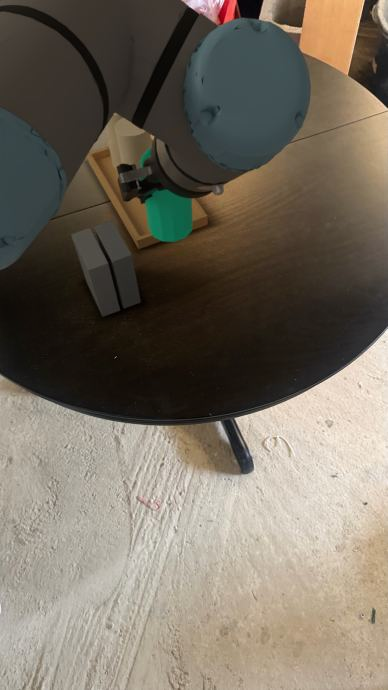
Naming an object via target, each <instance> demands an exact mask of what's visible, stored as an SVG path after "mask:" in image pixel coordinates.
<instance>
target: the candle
mask: <svg viewBox="0 0 388 690" xmlns="http://www.w3.org/2000/svg"><path fill="white" fill-rule="evenodd" d="M150 154H151V148H149V149H148V150H147V151H146V152H145V153H144V154H143V155H142V157H141V159H140V162H139V163H140V168H142V167H143V162H144V161H145V160H146V159H147V158H149V157H150ZM151 194H152V197H150V198H148V199H147V200H145V204H146V211H147V218H148V225H149V230H150V232H151V234H152V235H153V237H155V238H157V239H159V240H161V241H160V242H168V243H175V242H178V241H181V240H184V239H186V238H187V237H188V236H189V235H190V234H191V233H192V231H193V230H192V224H193V219H192V198H184V197H180V196H178V195H175V194H173V193H172V192H170V191H169V190H163V191H158V190H157V191H155V192H153V193H151Z"/></svg>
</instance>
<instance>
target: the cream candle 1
mask: <svg viewBox="0 0 388 690" xmlns="http://www.w3.org/2000/svg"><path fill="white" fill-rule="evenodd" d="M122 118H123V117H121V116H120V115H118V114H117V113H114V115H113V116H112V118H111V119H110V121H109V122H108V124H107V125H106V127H105V134H106V137H107V143H108V147H109V149H110V154H111V159H112V164H113V167H114V168H115V169H116V170H117V168H116V167H117V166H119V165H120V164H121V159H120V153H119V148H118V142H117V136H116V131H115V125H116V123H117V122H118V121H119V120H120V119H122Z"/></svg>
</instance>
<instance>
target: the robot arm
mask: <svg viewBox="0 0 388 690" xmlns="http://www.w3.org/2000/svg"><path fill="white" fill-rule="evenodd" d="M311 84H312V83H311V77H310V71H309V66H308V63H307V61H306V58H305V56H304V54H303V52H302V49H301V48H300V47H299V45H298V44H297V42H296V41H295V39H294V38H293V37H292V36H291V35H290V34H289V33H288V32H286V31H285V30H284V29H283V28H282V27H280V26H279V25H277V24H275V23H273V22H271V21H268V20H262V19H257V18H249V17H239V18H233V19H232V20H229V21H226V22H224V23H222V24H221V25H218V24H217V23H216V22H214V21H213V20H211V19H210V18H209V17H207V16H205V15H204V13H202V12H200V13H199V12H197V11H196V10H195V9H193V8H192V7H191V6H189V4H187V3H186V2H185V1H183V0H0V271H2V270H4V269H6V268H8V267H10V266H11V265H13V264H14V263H16V262H17V261H18V260H19V259H20V258H21V257H22V255H23V254H24V253H25V252H26V250H27V249H28V248H29V246H30V245H31V244H32V243H33V242H34V240H35V239H36V238H37V236H38V235H39V234H40V233H41V231H42V230H43V229H44V228H45V226H46V225H47V224H48V223H49V221H51V220H52V219H53V218H54V216H55V215H56V214H57V212H58V211H59V210H60V208H61V207H62V203H63V200H64V197H65V196H66V191H67V190H68V188H69V186H70V185H71V183H72V182H73V180H74V178H75V177H76V175H77V173H78V171H79V170H80V169H81V166H82V165H83V164H84V162H85V159H86V158H87V155H88V153H89V152H91V149H92V148H93V147H94V145H95V144H96V142H98V140H99V138H100V136H101V135H102V133H103V131H104V130H106V128H105V127H106V125H107V124H108V122H109V121H110V119H111V118H112V116H113V115H114V113H117V114H118V115H120V116H121V117H123V118H125V119H126V120H128V121H129V122H131V123H132V124H134V125H135V126H137V127H138V128H140V129H142V128H143V130H145V131H146V132H148V133H149V134H151V136H152V137H153V138H152V140H153V142H152V147H151V154H150V157H149V158H147V159H146V160H145V161H144V162H143V167H142V168H139V169H137V168H136V164H131V165H129V164H124V163H123V164H120V165H119V166H117V167H116V168H117V171H118V175H119V177H118V180H117V181H118V184H119V188H120V192H121V195H122V199H123V201H125V202H129V201H130V200H132V199H133V198H136V197H137V198H138V199H139V198H140V202H141V204H144V203H145V200H147V199H148V198H150V197H152V194H151V193H153V192H155V191H157V190H158V191H163V190H169V191H170V192H172V193H173V194H175V195H178V196H180V197H184V198H195V199H199V198H204V197H206V196H208V195H210V194H212V193H213V195H214V196H220V195H221V196H222V195H223V194H224V192H225V188H224V186H225V185H226V184H228V183H229V182H232V181H234V180H236V179H238V178H239V177H241V176H243V175H245V174H247V173H250V172H251V171H254V170H259V169H260V168H261V167H263V166H265V165H267V164H268V163H270V162H271V161H272V160H273V159H274V158H275V157H276V156H277V155H278V154H279V153H281V152H282V151H283V150H284V149H285V148H286V147H287V146H288V145H289V144H290V143H291V142H292V141H293V140H294V139H295V137H297V135H298V134H299V132H300V131H301V129H303V126H304V123H305V120H306V118H307V115H308V112H309V108H310V103H311V96H312V95H311V91H312V85H311Z"/></svg>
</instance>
